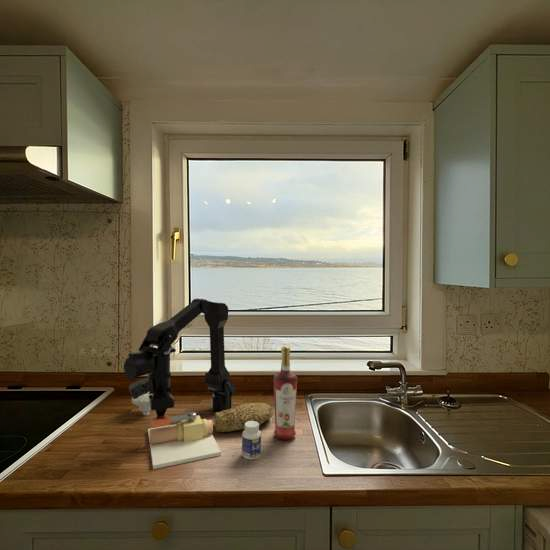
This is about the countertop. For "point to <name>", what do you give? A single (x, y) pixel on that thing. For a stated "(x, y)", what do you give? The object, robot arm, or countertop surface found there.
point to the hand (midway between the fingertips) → (159, 420)
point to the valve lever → (172, 419)
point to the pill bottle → (251, 440)
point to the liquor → (285, 398)
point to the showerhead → (143, 403)
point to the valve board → (182, 442)
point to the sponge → (242, 416)
